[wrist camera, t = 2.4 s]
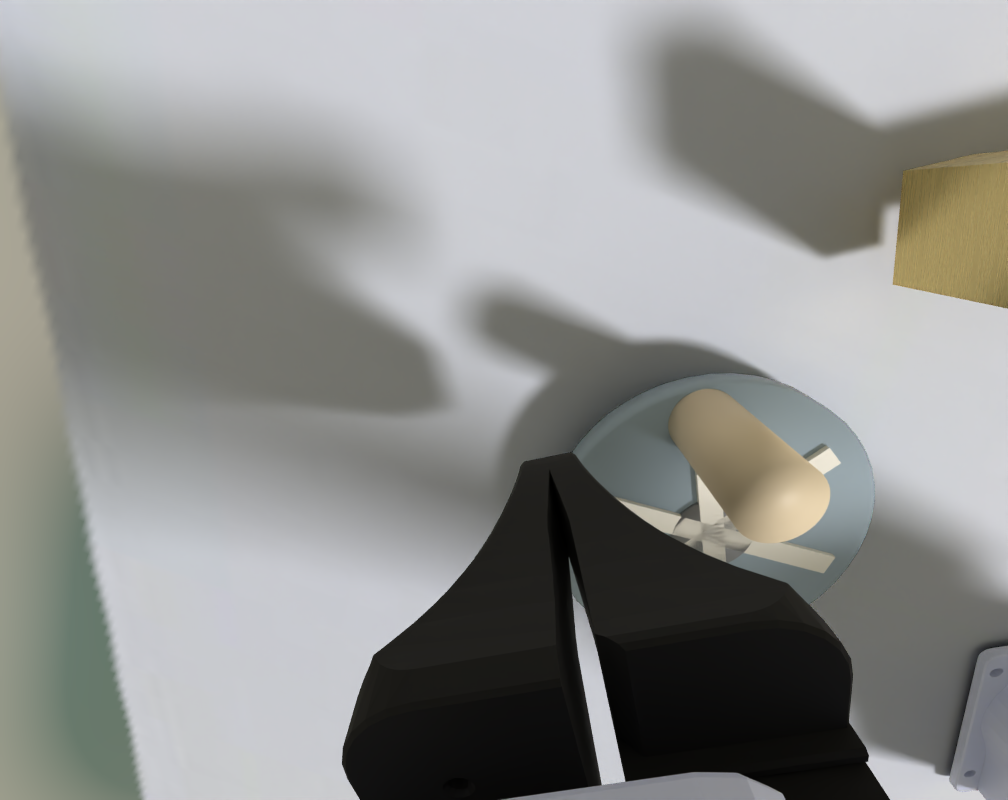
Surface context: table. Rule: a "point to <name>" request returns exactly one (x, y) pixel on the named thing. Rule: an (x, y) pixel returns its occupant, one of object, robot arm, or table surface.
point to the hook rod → (956, 229)
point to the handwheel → (739, 475)
